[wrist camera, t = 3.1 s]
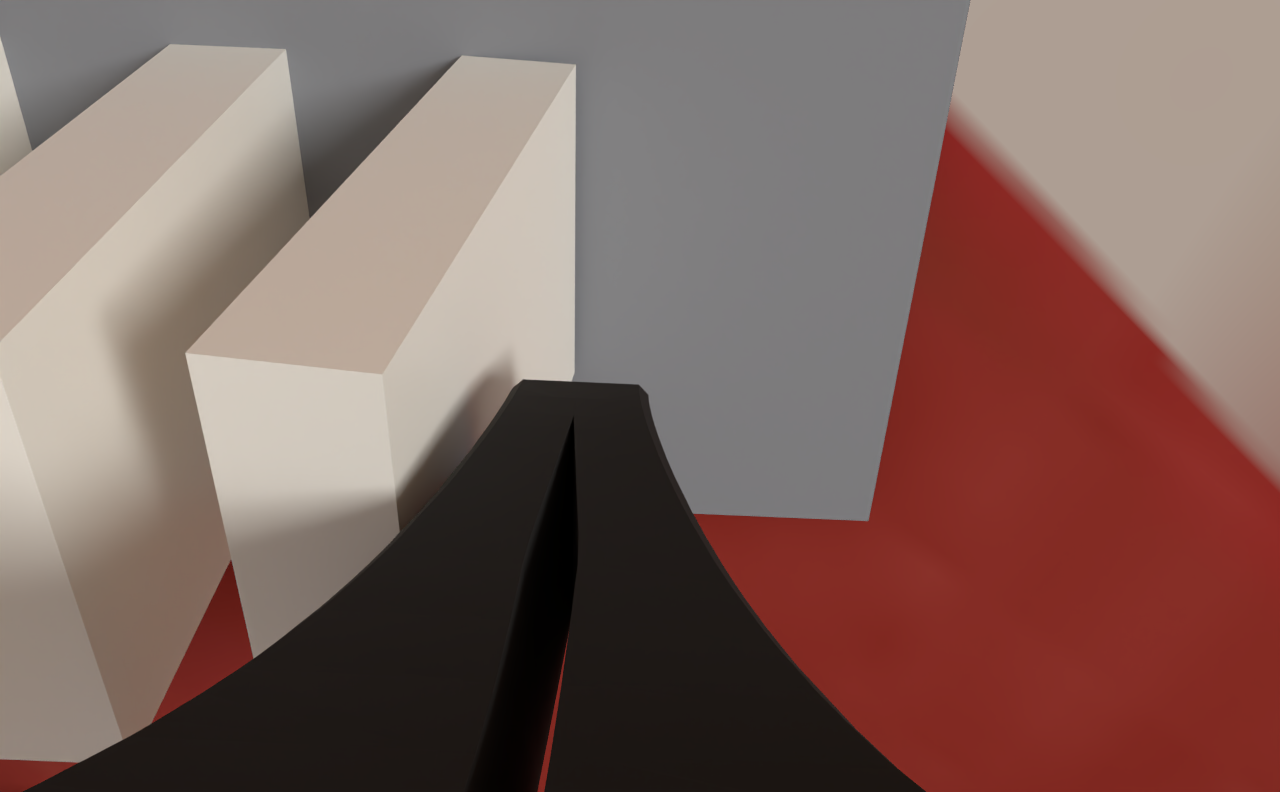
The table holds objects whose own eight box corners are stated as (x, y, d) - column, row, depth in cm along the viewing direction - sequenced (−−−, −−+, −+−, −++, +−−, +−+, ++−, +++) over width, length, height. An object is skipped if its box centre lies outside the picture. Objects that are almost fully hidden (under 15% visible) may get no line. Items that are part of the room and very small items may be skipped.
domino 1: (286, 49, 15) (-9, 349, 9) (329, 356, 18) (131, 764, 11) (169, 43, 15) (-213, 342, 9) (231, 353, 18) (-25, 757, 11)
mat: (995, -170, 14) (1002, -167, 14) (865, 506, 20) (868, 521, 20) (-1231, -268, 14) (-1276, -266, 14) (-684, 440, 20) (-706, 453, 20)
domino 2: (575, 64, 15) (382, 375, 9) (574, 372, 18) (427, 786, 11) (461, 55, 15) (186, 352, 9) (478, 362, 18) (277, 764, 11)
